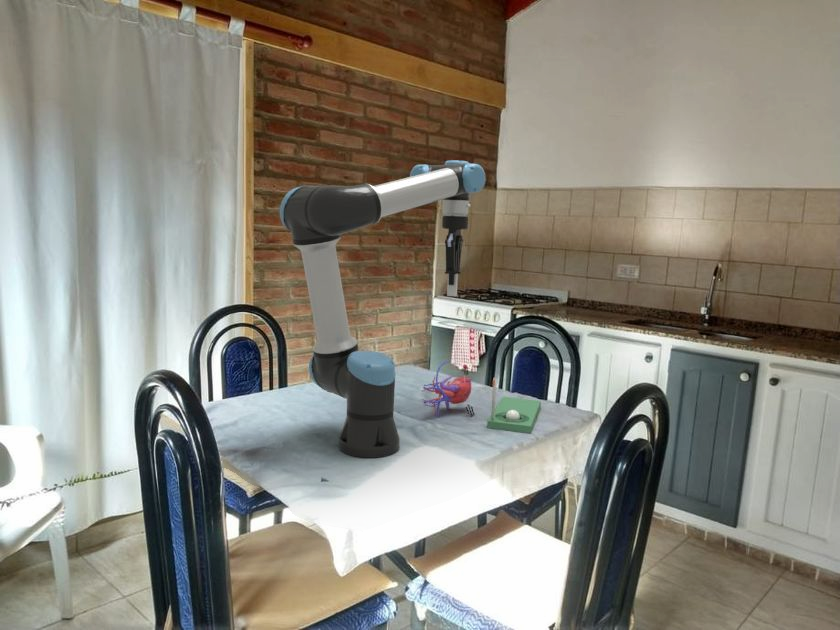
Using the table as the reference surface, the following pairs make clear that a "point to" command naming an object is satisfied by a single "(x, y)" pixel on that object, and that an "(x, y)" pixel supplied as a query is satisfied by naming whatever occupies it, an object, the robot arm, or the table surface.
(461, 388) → the heart model
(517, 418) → the ball
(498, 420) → the green
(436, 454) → the table surface
